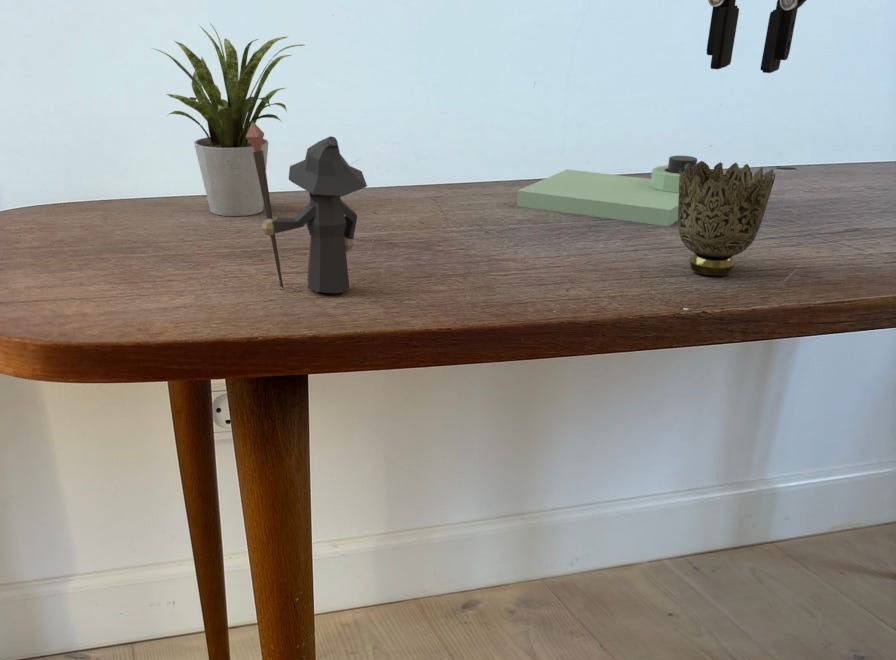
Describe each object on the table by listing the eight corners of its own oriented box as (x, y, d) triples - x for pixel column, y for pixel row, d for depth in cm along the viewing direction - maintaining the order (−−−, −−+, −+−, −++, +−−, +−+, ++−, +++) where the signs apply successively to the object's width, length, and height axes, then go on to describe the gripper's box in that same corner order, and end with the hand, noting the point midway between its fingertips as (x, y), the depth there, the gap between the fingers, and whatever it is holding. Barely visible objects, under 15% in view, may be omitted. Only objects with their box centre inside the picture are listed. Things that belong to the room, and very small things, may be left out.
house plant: (336, 198, 109) (331, 16, 100) (301, 230, 98) (292, 27, 89) (205, 191, 111) (188, 12, 102) (156, 221, 100) (132, 23, 91)
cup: (742, 290, 84) (762, 182, 79) (653, 276, 87) (668, 172, 82) (765, 268, 89) (785, 166, 85) (681, 256, 92) (696, 157, 88)
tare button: (698, 173, 108) (700, 157, 107) (690, 178, 106) (692, 161, 105) (671, 170, 109) (674, 154, 109) (663, 175, 107) (665, 158, 107)
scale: (711, 201, 110) (716, 168, 109) (671, 227, 101) (677, 192, 99) (566, 184, 117) (569, 152, 115) (516, 207, 107) (518, 173, 105)
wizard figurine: (349, 276, 86) (345, 113, 79) (378, 294, 81) (377, 124, 75) (252, 288, 82) (239, 119, 76) (277, 308, 78) (266, 131, 72)
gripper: (938, -246, 69) (866, 72, 79) (692, -235, 75) (656, 58, 85) (922, -262, 63) (847, 82, 74) (659, -248, 70) (624, 66, 80)
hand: (745, 66), depth 79 cm, fingers open, 3 cm apart
